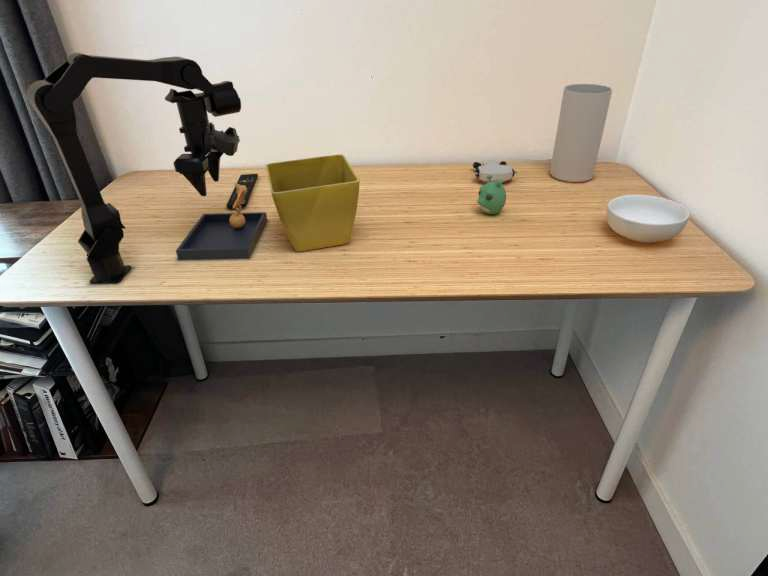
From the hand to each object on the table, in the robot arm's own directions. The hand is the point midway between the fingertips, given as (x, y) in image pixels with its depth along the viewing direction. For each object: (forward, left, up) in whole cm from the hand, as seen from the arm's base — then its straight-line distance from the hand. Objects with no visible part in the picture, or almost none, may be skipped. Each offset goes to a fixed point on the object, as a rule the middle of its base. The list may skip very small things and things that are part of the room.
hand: (210, 188), depth 113 cm
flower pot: (-2, -25, -13) cm, 28 cm away
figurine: (+3, -5, -12) cm, 13 cm away
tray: (-2, -2, -13) cm, 13 cm away
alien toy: (+9, -69, -13) cm, 70 cm away
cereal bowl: (-5, -102, -13) cm, 103 cm away
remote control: (+27, +1, -13) cm, 30 cm away
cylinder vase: (+34, -98, -13) cm, 104 cm away
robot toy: (+34, -74, -13) cm, 82 cm away
